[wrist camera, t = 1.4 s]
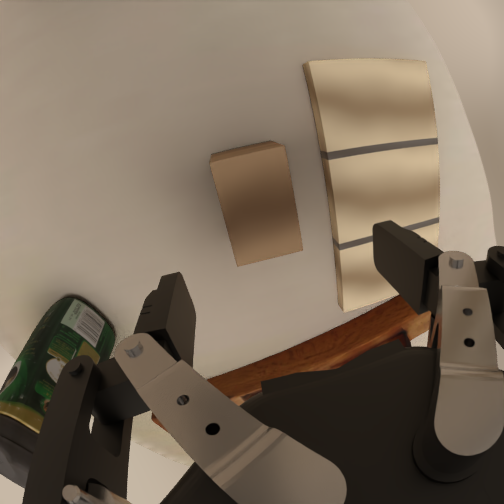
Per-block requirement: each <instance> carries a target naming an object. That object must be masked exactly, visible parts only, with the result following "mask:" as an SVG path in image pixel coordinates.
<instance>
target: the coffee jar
mask: <svg viewBox="0 0 504 504" xmlns="http://www.w3.org/2000/svg"><path fill="white" fill-rule="evenodd" d="M114 343H115V336H114V333H113V331H112V329H111V327H110V326H109V325H108V323H107V322H106V321H105V319H104V318H103V317H102V316H101V315H100V314H99V313H98V312H97V311H96V310H94V309H93V308H92V307H91V306H89V305H87V304H86V303H84V302H83V301H81V300H79V299H76V298H72V297H67V298H63V299H61V300H60V301H58V302H56V303H55V304H54V305H53V306H52V307H51V308H50V309H49V310H48V311H47V312H46V313H45V315H44V316H43V317H42V319H41V320H40V322H39V323H38V325H37V326H36V328H35V329H34V331H33V333H32V334H31V336H30V338H29V340H28V341H27V343H26V345H25V346H24V348H23V350H22V352H21V353H20V355H19V357H18V358H17V360H16V362H15V364H14V365H13V367H12V369H11V371H10V373H9V375H8V376H7V378H6V380H5V382H4V384H3V386H2V388H1V390H0V474H2V475H3V476H5V477H6V478H8V479H9V480H11V481H13V482H14V483H16V484H18V485H19V486H21V487H23V488H25V487H26V482H27V477H28V473H29V469H30V464H31V460H32V457H33V453H34V449H35V446H36V442H37V439H38V435H39V432H40V429H41V426H42V422H43V419H44V416H45V413H46V410H47V407H48V405H49V402H50V399H51V396H52V394H53V391H54V388H55V386H56V383H57V380H58V378H59V375H60V373H61V371H62V369H63V367H64V366H65V365H66V363H68V362H69V361H70V360H71V359H73V358H75V357H77V356H80V355H88V356H90V357H91V358H92V359H93V361H94V362H95V364H99V363H101V362H104V361H106V360H109V357H110V355H111V352H112V349H113V347H114Z"/></svg>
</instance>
